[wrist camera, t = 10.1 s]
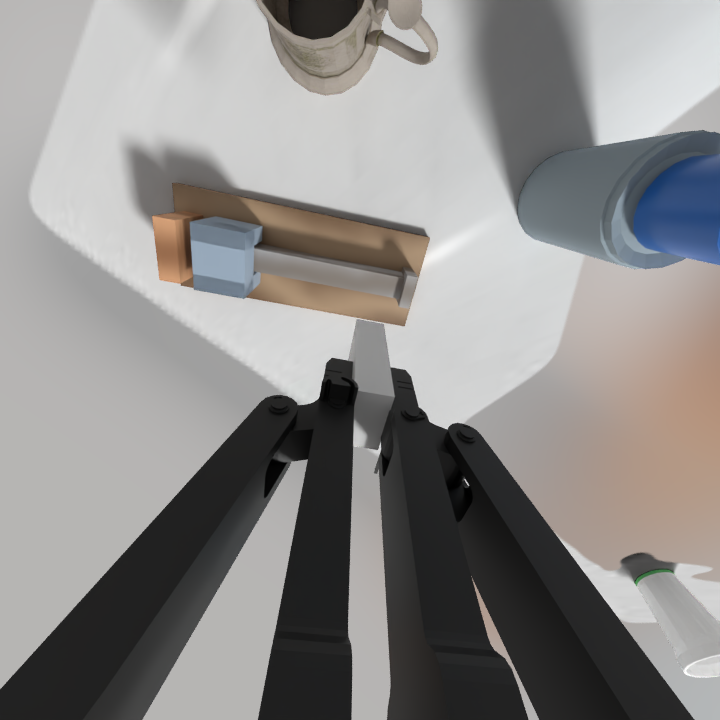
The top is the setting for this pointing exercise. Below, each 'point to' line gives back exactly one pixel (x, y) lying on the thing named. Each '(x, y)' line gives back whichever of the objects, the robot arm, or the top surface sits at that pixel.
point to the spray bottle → (630, 200)
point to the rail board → (318, 243)
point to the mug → (346, 43)
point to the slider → (224, 256)
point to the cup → (683, 622)
